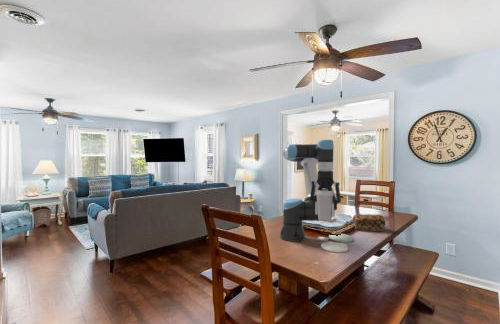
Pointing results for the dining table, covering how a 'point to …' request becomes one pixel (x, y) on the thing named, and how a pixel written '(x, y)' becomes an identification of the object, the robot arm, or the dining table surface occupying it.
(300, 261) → the dining table surface
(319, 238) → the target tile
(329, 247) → the coaster cream
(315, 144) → the robot arm
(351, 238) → the coaster sage
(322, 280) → the dining table surface
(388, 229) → the dining table surface
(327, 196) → the coffee cup
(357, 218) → the bread
